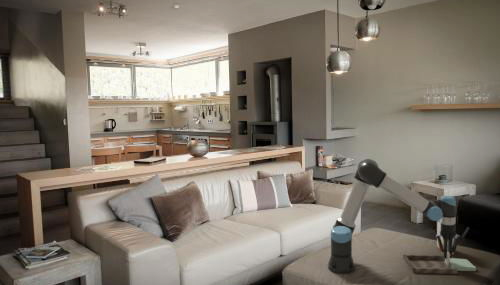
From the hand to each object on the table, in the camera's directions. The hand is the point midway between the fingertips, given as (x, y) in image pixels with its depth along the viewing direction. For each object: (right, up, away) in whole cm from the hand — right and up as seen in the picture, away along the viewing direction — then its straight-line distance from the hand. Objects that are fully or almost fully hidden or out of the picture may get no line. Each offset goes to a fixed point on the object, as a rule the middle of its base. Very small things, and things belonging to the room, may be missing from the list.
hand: (447, 263), depth 222 cm
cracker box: (+11, 0, +24) cm, 26 cm away
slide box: (-10, -2, +1) cm, 10 cm away
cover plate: (+7, -2, -1) cm, 7 cm away
